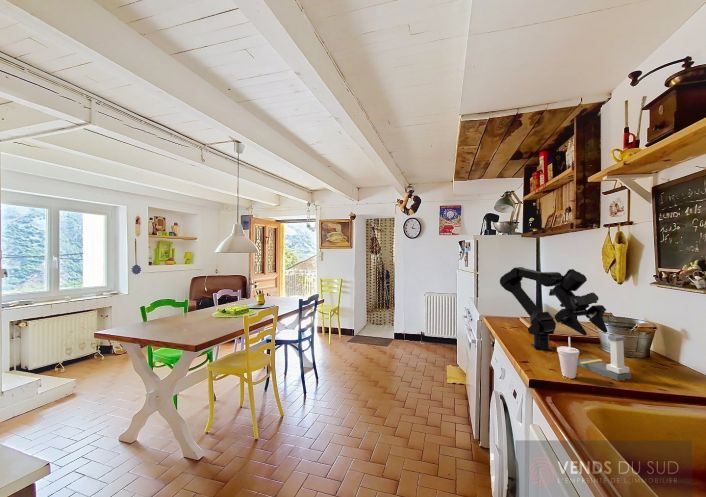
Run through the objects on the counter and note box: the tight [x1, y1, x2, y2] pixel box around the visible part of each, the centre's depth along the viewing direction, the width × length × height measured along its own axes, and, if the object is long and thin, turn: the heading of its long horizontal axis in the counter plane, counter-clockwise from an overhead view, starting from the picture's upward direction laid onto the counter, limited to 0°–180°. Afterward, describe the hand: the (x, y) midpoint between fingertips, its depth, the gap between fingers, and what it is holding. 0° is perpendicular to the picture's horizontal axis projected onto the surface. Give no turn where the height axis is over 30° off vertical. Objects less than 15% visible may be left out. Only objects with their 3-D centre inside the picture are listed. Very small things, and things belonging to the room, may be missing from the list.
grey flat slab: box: [577, 357, 632, 381], centre depth 107 cm, size 14×9×2 cm, turn 12°
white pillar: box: [606, 334, 630, 374], centre depth 102 cm, size 4×4×12 cm
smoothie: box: [556, 336, 580, 378], centre depth 104 cm, size 6×6×14 cm
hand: (596, 333), depth 109 cm, fingers open, 9 cm apart
